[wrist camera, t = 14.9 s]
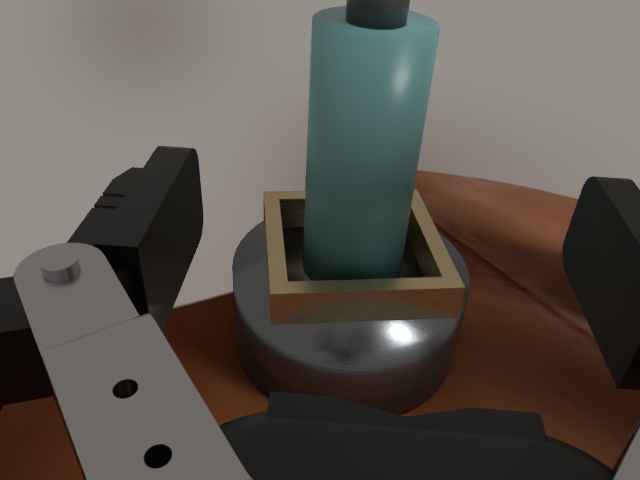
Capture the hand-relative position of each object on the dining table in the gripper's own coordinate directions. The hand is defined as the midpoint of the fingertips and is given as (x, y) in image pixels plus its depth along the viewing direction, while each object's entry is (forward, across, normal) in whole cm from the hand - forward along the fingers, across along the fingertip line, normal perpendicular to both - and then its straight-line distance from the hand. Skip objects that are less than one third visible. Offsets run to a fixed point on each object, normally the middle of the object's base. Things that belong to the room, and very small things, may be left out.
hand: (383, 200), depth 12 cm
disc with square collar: (+13, 0, +17) cm, 21 cm away
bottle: (+13, 0, +12) cm, 18 cm away
